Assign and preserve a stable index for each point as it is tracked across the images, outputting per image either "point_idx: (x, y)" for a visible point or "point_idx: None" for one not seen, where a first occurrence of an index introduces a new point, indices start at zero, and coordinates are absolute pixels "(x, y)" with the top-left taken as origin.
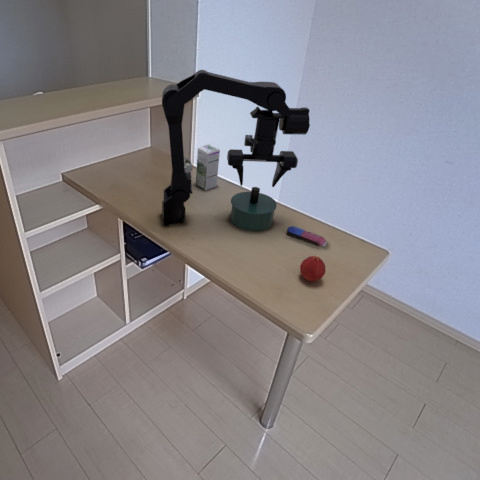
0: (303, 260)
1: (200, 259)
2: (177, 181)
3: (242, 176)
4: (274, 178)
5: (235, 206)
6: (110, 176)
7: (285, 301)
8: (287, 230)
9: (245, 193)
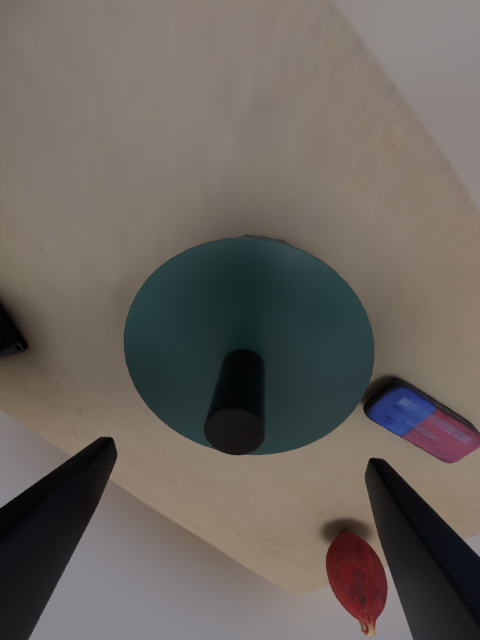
0: (341, 573)
1: (116, 475)
2: None
3: (36, 614)
4: (412, 580)
5: (152, 406)
6: None
7: (278, 560)
8: (367, 413)
9: (204, 270)
